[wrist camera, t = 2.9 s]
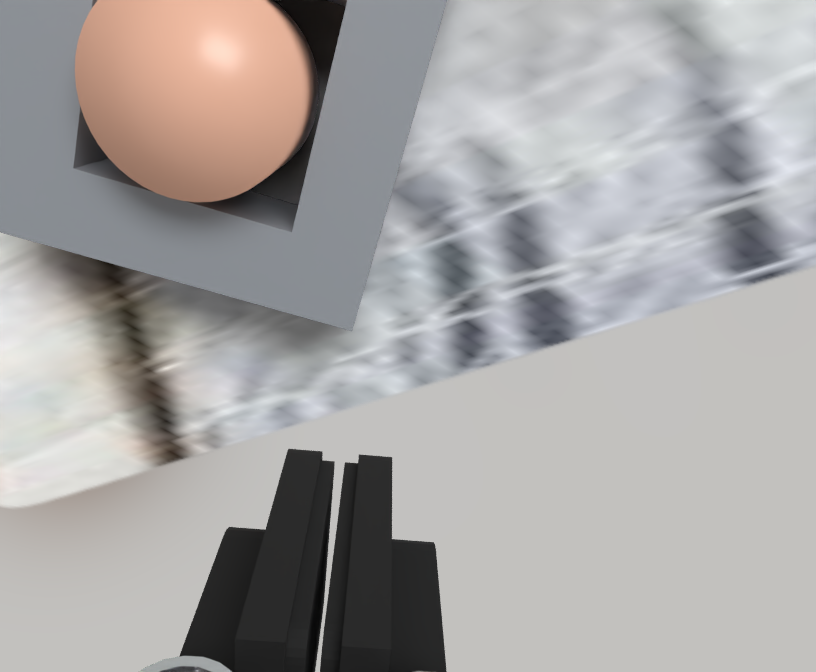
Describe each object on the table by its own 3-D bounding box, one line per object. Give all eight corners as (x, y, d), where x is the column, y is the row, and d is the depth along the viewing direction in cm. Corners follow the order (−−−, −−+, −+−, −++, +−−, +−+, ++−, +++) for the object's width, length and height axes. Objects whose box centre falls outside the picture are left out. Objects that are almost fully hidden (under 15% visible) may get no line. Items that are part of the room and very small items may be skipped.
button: (339, 16, 28) (323, 6, 24) (295, 203, 31) (273, 227, 26) (145, -47, 27) (89, -70, 23) (117, 151, 30) (62, 166, 26)
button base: (460, -52, 29) (468, -74, 24) (361, 295, 35) (351, 331, 30) (79, -181, 28) (10, -230, 23) (40, 203, 33) (-21, 226, 29)
